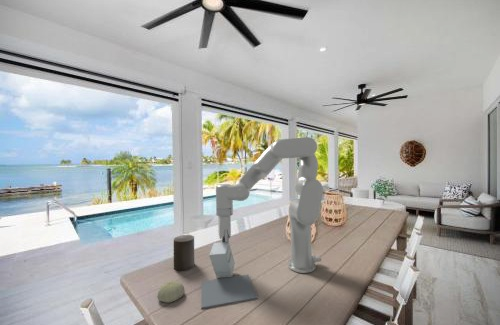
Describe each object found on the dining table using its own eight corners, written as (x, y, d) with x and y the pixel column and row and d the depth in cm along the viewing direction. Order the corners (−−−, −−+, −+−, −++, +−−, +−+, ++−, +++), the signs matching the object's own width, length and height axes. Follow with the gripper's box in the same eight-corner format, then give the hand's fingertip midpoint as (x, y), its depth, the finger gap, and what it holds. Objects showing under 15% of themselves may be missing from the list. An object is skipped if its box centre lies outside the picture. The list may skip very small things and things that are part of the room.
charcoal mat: (248, 275, 90) (248, 274, 90) (258, 298, 75) (258, 297, 75) (201, 282, 86) (201, 281, 86) (201, 309, 70) (201, 307, 70)
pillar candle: (176, 273, 94) (176, 240, 94) (171, 264, 102) (171, 234, 102) (197, 267, 99) (197, 236, 99) (191, 259, 107) (191, 230, 107)
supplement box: (232, 277, 88) (225, 254, 84) (216, 278, 89) (208, 255, 85) (235, 263, 95) (229, 241, 91) (220, 264, 96) (213, 242, 92)
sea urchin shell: (160, 285, 82) (174, 270, 82) (175, 298, 82) (189, 283, 83) (151, 300, 73) (167, 283, 73) (167, 315, 73) (183, 297, 74)
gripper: (215, 208, 101) (216, 246, 101) (217, 216, 86) (218, 259, 86) (230, 207, 103) (231, 244, 103) (235, 214, 88) (236, 257, 88)
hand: (225, 251), depth 95 cm, fingers closed
